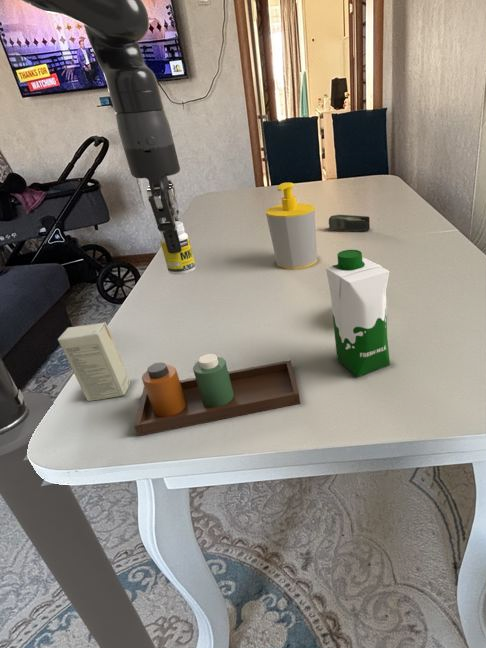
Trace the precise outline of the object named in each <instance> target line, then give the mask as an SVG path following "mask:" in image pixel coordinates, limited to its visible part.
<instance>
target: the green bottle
mask: <svg viewBox="0 0 486 648" xmlns="http://www.w3.org/2000/svg"><path fill="white" fill-rule="evenodd" d="M192 371H193V374H194V378H196V381H197V385H198V388H199V391H200V395H201V398H202V402H203V404H204V405H205V406H208V407H219V406H223V405H225V404H227V403H229V402H230V401H231V400H232V399H233V396H234V393H233V389H232V385H231V381H230V377H229V373H228V372H229V370H228V365H227V361H226V359H225V358H223V357H221V356H217V355H216V354H214V353H207V354H204V355H201V356H200V357H199V358H198V361H197V362H195V363H194V365H193V366H192Z"/></svg>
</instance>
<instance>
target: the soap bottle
mask: <svg viewBox="0 0 486 648" xmlns="http://www.w3.org/2000/svg"><path fill="white" fill-rule="evenodd" d="M294 186H295V184H294V183H293V182H283V183H280V184H279V185H278V187H277V191H279V192H281V191H282V192H283V197H281V198H280V200H281V204H278V205H274V206H271V207H269V208H267V209H266V210H265V216H266V220H267V221H266V222H267V225H268V230H269V234H270V240H271V244H272V248H273V252H274V258H275V262H276V266H278V267H279V268H281V269H286V270H298V269H304V268H308V267H311V266H312V265H315V264H316V263H317V262H318V249H317V231H316V213H315V211H316V209H315V205H312V204H311V203H305V202H297V196H294V194H293V188H292V187H294Z"/></svg>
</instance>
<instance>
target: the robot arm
mask: <svg viewBox="0 0 486 648" xmlns="http://www.w3.org/2000/svg"><path fill="white" fill-rule="evenodd" d="M21 1H22V2H24V3H26V4H29V5H31V6H33V7H35V8H36V9H39V10H41V11H44V12H47V13H52V14H58V15H63V16H65V17H68V18H70V19H72V20H74V21H76V22H79V23H81V24H83V27H84V30H85V33H86V37H87V38H88V42H89V44H90V46H91V49H92V52H93V53H94V55H95V58H96V60H97V63H98V65H99V67H100V69H101V71H102V73H103V75H104V78H105V81H106V85H107V90H108V94H109V98H110V100H111V105H112V107H113V111H114V113H115V118H116V125H117V130H118V133H119V137H120V140H121V145H122V148H123V151H124V154H125V158H126V161H127V164H128V168H129V172H130V175H131V176H132V178H135V179H146V180H148V185H149V186H148V188H147V189H146V194H147V198H148V202H149V205H150V207H151V210H152V213H153V216H154V220H155V222H156V225H157V230H158V231H159V232H160V231H161V232H163V235H164V239H165V242H166V246H167V250H168V252H169V253H179V252H181V250H182V248H181V244H180V240H179V236H178V233H177V225H176V222H175V221H179V222H180V216H179V214H180V212H179V203H178V201H177V196H176V189H175V185H174V183H173V181H172V180H171V179H169V178H168V177H169V176H174V175H176V174H178V173H179V172H180V171H181V167H180V163H179V159H178V155H177V154H178V153H177V150H176V145H175V142H174V138H173V134H172V129H171V125H170V123H169V120H168V118H167V114H166V111H165V107H164V104H163V100H162V95H161V92H160V87H159V84H158V80H157V77H156V75H155V73H154V71H153V70H152V69H151V68H149V67H148V66H147V64H146V62H145V59H144V56H143V52H142V50H141V47H140V43H139V42H140V41H141V40H143V39H144V37H145V36H146V35H147V33H148V31H149V25H150V18H149V12H148V10H147V7H146V6H145V3H144V2H143V0H21ZM167 222H168V223H167ZM22 393H23V392H22V391H21V388H20V389H18V387H17V386H16V383H15V382H14V380H13V378H12V376H11V374H10V373H9V370H8V368H7V366H6V365H5V363H4V361H3V359H2V358H1V356H0V435H1V434H3V433H6V432H8V431H10V430H11V429H13V428H15V427H16V426H18V425H19V424H20V423H22V422H23V421H24V420H25V419H26V417H27V416H28V414H29V409H28V407H27V405H26V403H25V402H24V400H23V397H24V396H23V394H22Z"/></svg>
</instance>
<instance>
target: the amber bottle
mask: <svg viewBox="0 0 486 648" xmlns="http://www.w3.org/2000/svg"><path fill="white" fill-rule="evenodd" d="M180 380H181V379H180V378H179V374H178V371H177V368H176V367H175V366H173V365H170V364H167V363H166V362H155V363H152V364H151V365H148V367H147V369H146V371H145V372H144V373H143V374H142V376H141V381H142V384H143V387H145V389H146V392H147V394H148V397H149V400H150V403H151V406H152V408H153V411H154V413H155V415H157V416H159V417H168V416H173V415H175V414H178V413H179V412H181V411H182V410H183V409H184V408H185V407H186V400H185V396H184V393H183V390H182V387H181V383H180Z"/></svg>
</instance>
